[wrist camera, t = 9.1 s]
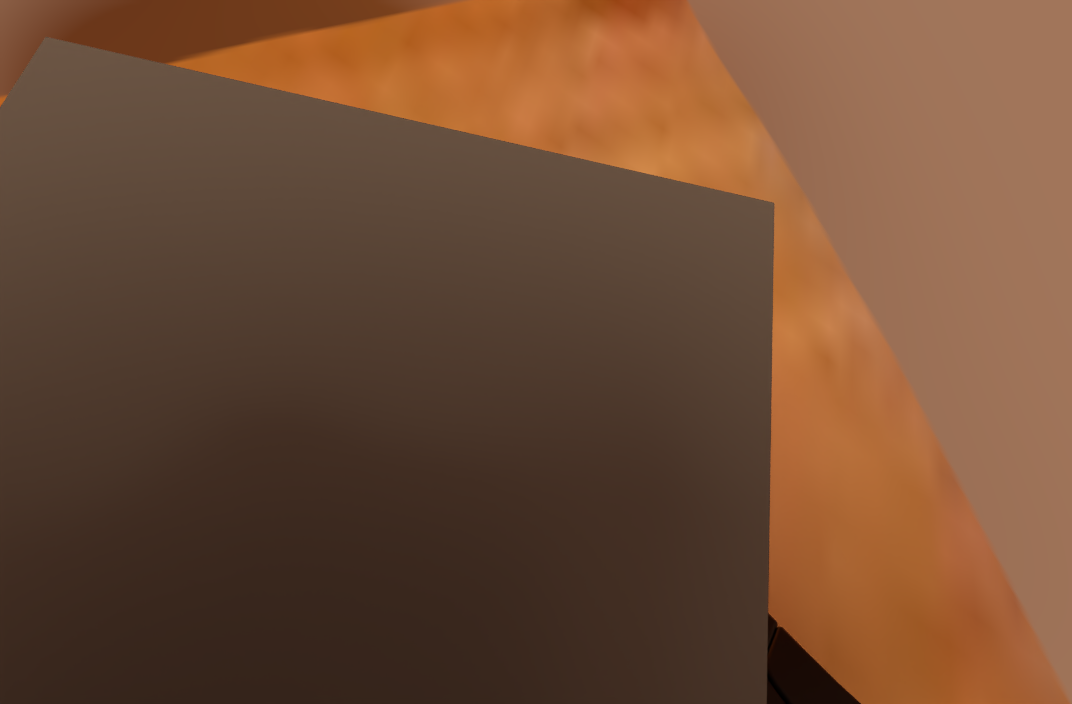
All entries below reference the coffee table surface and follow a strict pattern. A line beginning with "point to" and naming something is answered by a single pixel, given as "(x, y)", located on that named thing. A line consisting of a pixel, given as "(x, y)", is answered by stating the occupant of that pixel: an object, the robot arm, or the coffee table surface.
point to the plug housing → (367, 408)
